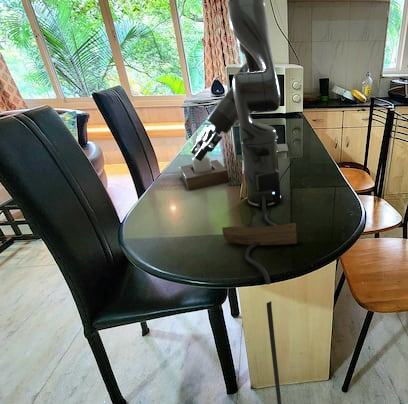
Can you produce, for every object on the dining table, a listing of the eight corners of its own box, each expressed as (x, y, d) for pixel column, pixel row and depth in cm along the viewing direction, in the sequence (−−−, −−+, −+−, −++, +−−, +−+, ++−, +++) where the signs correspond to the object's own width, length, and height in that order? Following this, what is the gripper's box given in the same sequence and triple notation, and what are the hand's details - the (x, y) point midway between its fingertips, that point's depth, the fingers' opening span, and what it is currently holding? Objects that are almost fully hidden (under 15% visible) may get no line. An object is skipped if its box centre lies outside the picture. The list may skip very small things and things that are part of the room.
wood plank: (296, 240, 62) (295, 220, 60) (296, 245, 61) (295, 225, 58) (227, 242, 63) (223, 223, 60) (225, 248, 61) (221, 228, 58)
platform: (288, 150, 123) (288, 135, 120) (247, 153, 122) (245, 138, 119) (286, 143, 134) (286, 129, 131) (248, 146, 132) (246, 132, 129)
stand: (229, 181, 94) (227, 170, 93) (188, 190, 89) (186, 178, 87) (218, 170, 105) (217, 159, 103) (182, 177, 99) (179, 166, 97)
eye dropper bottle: (198, 177, 99) (191, 143, 93) (214, 176, 99) (208, 142, 93) (195, 182, 95) (187, 147, 89) (211, 181, 95) (205, 146, 89)
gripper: (210, 104, 95) (181, 145, 96) (222, 110, 84) (189, 155, 84) (228, 119, 100) (200, 157, 100) (241, 126, 88) (210, 169, 89)
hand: (195, 156), depth 92 cm, fingers open, 6 cm apart
